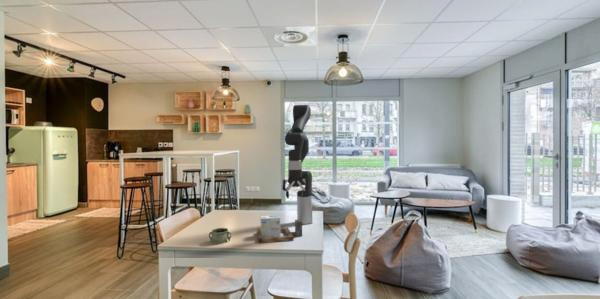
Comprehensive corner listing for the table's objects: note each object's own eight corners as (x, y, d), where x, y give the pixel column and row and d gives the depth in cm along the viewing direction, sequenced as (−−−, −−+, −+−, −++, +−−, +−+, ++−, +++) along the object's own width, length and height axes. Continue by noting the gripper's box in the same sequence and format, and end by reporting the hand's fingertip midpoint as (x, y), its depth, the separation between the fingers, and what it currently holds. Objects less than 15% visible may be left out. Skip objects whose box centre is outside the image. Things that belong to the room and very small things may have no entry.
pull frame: (298, 230, 183) (298, 216, 183) (304, 239, 165) (304, 224, 165) (256, 233, 178) (256, 219, 178) (258, 242, 160) (258, 227, 160)
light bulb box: (279, 233, 178) (279, 214, 178) (280, 237, 171) (280, 217, 171) (260, 234, 176) (260, 215, 176) (261, 238, 169) (261, 218, 169)
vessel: (233, 239, 168) (233, 227, 168) (229, 244, 159) (229, 232, 159) (211, 239, 168) (211, 227, 168) (206, 244, 159) (205, 232, 159)
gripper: (306, 167, 179) (306, 195, 180) (281, 168, 176) (281, 197, 177) (309, 168, 172) (309, 198, 172) (283, 169, 169) (283, 199, 170)
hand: (295, 197), depth 175 cm, fingers open, 8 cm apart
